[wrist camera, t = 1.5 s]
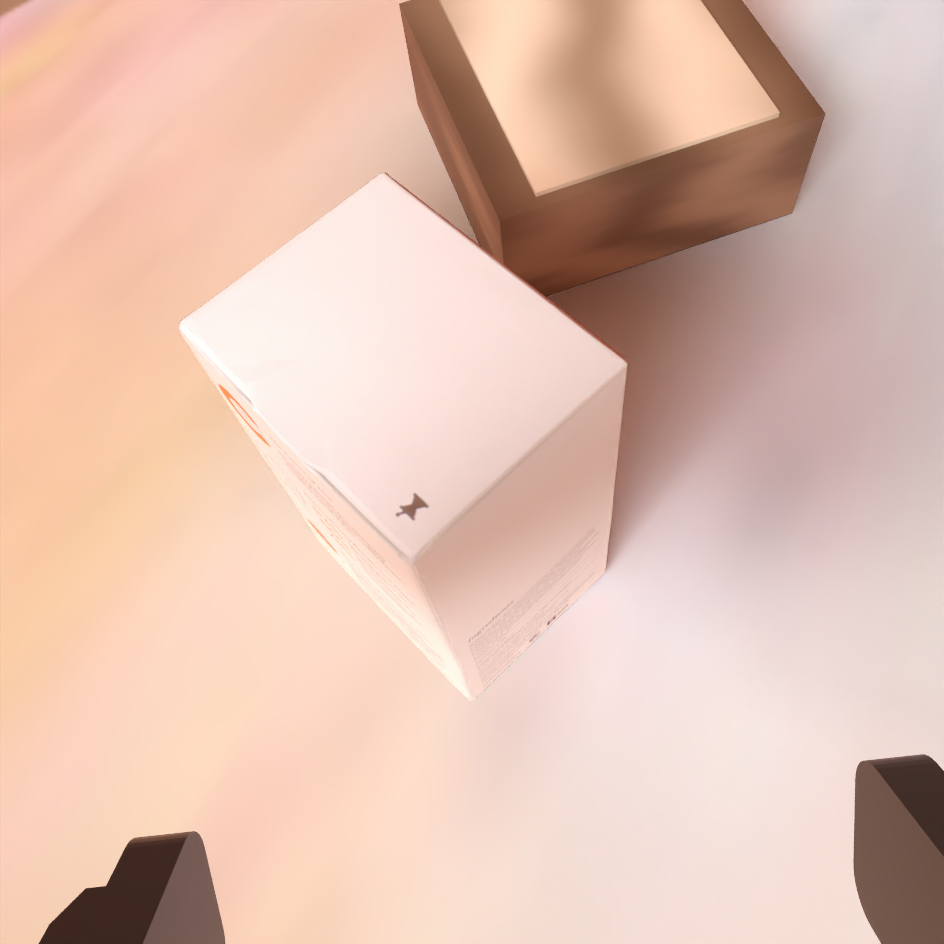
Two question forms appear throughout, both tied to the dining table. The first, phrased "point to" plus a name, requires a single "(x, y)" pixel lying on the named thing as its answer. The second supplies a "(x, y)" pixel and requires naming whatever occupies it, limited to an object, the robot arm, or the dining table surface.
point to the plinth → (608, 126)
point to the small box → (426, 422)
